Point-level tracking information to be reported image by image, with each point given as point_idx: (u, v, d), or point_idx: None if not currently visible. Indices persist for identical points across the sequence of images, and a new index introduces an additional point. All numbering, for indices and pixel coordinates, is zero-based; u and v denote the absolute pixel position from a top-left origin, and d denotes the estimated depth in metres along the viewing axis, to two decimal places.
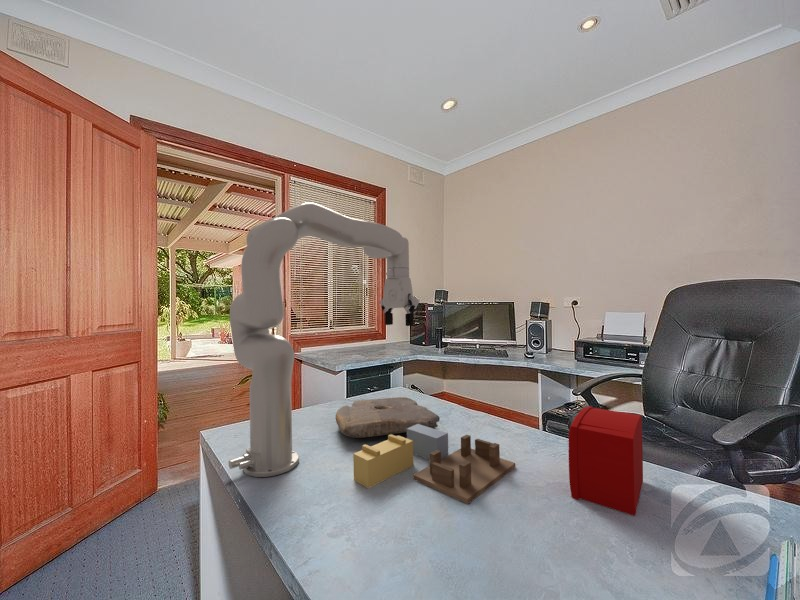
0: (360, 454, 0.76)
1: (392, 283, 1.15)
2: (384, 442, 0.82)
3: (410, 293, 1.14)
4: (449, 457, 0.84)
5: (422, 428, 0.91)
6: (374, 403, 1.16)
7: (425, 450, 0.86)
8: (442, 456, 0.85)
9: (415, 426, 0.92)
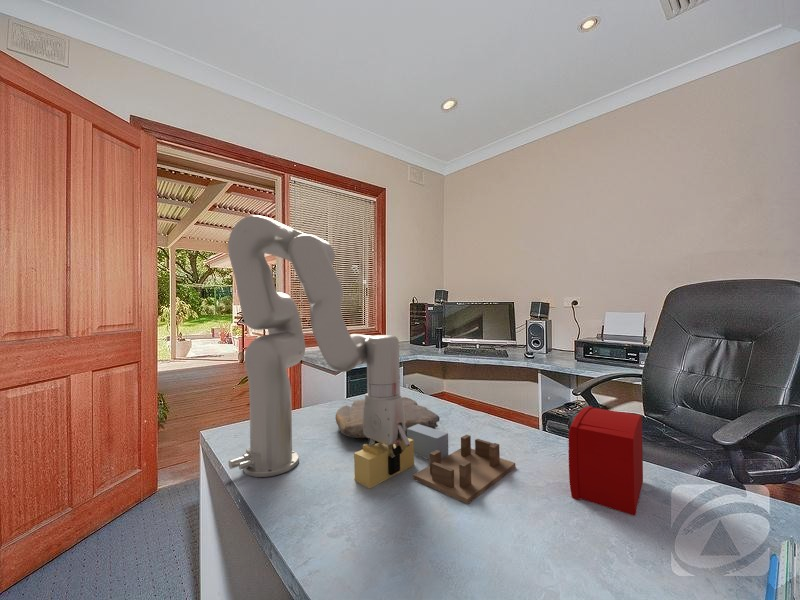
0: (361, 454, 0.76)
1: (374, 405, 0.78)
2: None
3: (401, 422, 0.77)
4: (449, 457, 0.84)
5: (422, 428, 0.91)
6: None
7: (425, 450, 0.86)
8: (442, 456, 0.85)
9: (415, 426, 0.92)
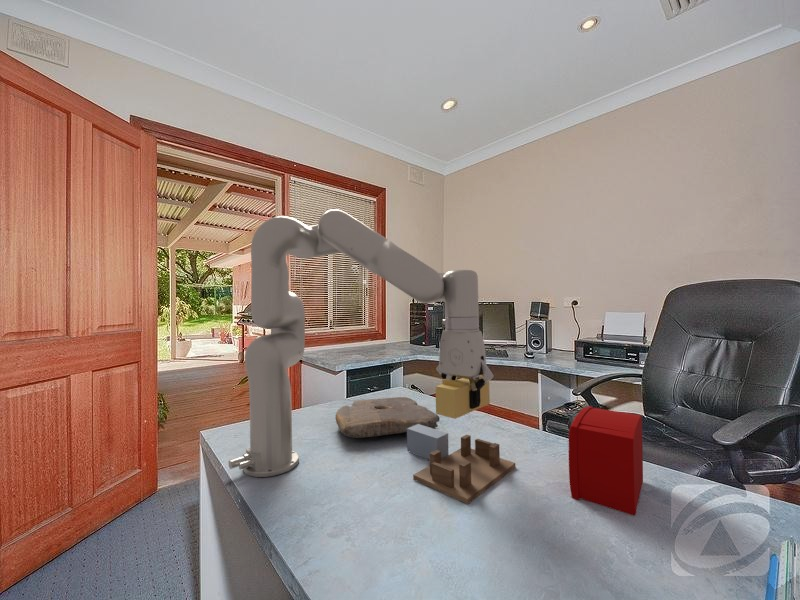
0: (443, 386, 0.75)
1: (455, 339, 0.77)
2: (460, 379, 0.81)
3: (483, 355, 0.76)
4: (449, 457, 0.84)
5: (422, 428, 0.91)
6: (374, 403, 1.16)
7: (425, 450, 0.86)
8: (442, 456, 0.85)
9: (415, 426, 0.92)
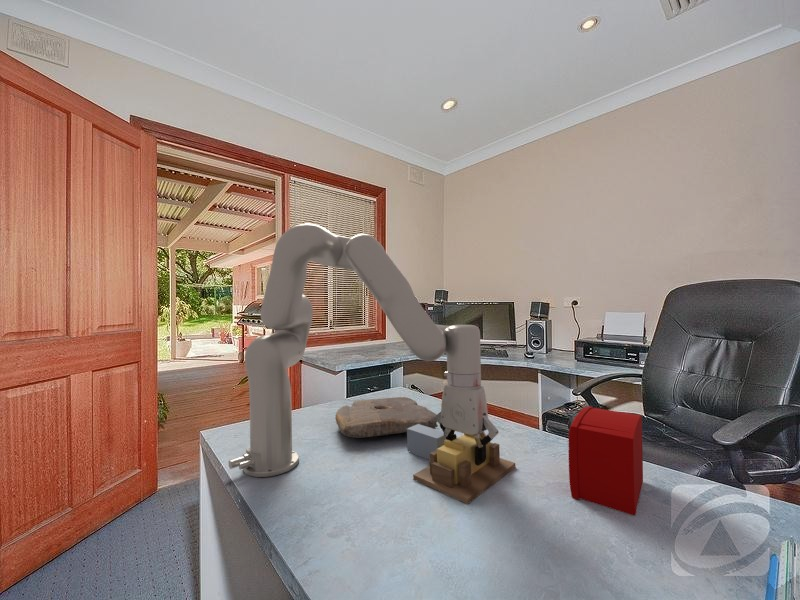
0: (444, 450, 0.74)
1: (457, 395, 0.77)
2: (462, 437, 0.81)
3: (485, 412, 0.75)
4: None
5: (422, 428, 0.91)
6: (374, 403, 1.16)
7: (425, 450, 0.86)
8: None
9: (415, 426, 0.92)
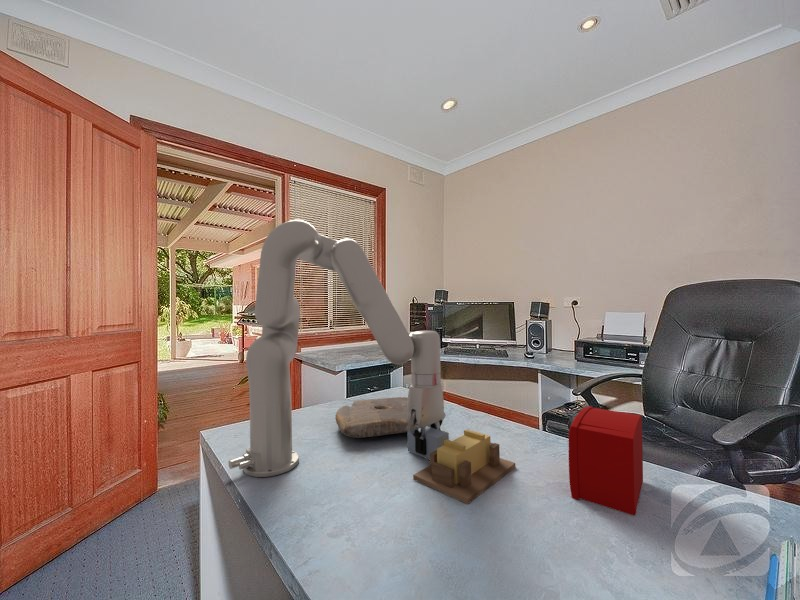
0: (444, 450, 0.74)
1: None
2: (462, 437, 0.81)
3: (415, 409, 0.85)
4: None
5: None
6: (374, 403, 1.16)
7: (426, 449, 0.86)
8: None
9: None
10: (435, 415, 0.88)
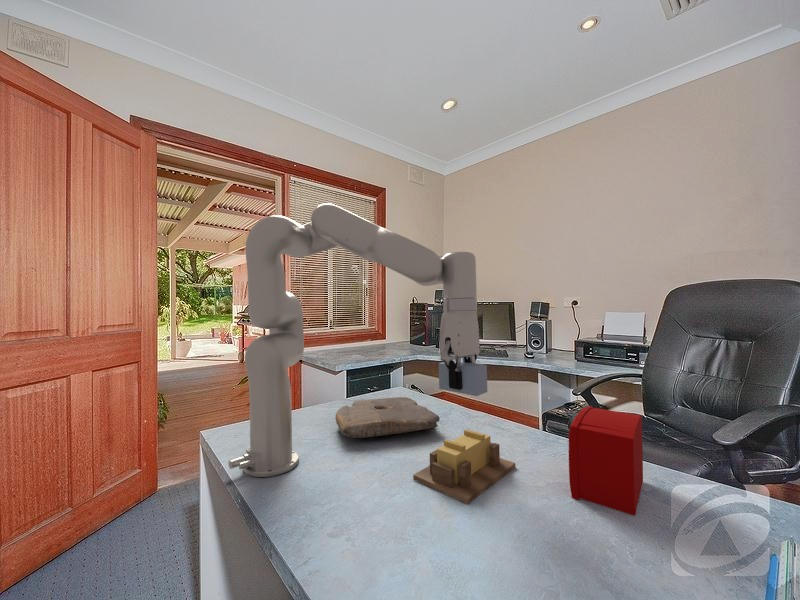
0: (444, 450, 0.74)
1: None
2: (462, 437, 0.81)
3: (450, 337, 0.75)
4: None
5: None
6: (374, 403, 1.16)
7: (462, 383, 0.77)
8: (481, 389, 0.76)
9: None
10: (471, 346, 0.78)
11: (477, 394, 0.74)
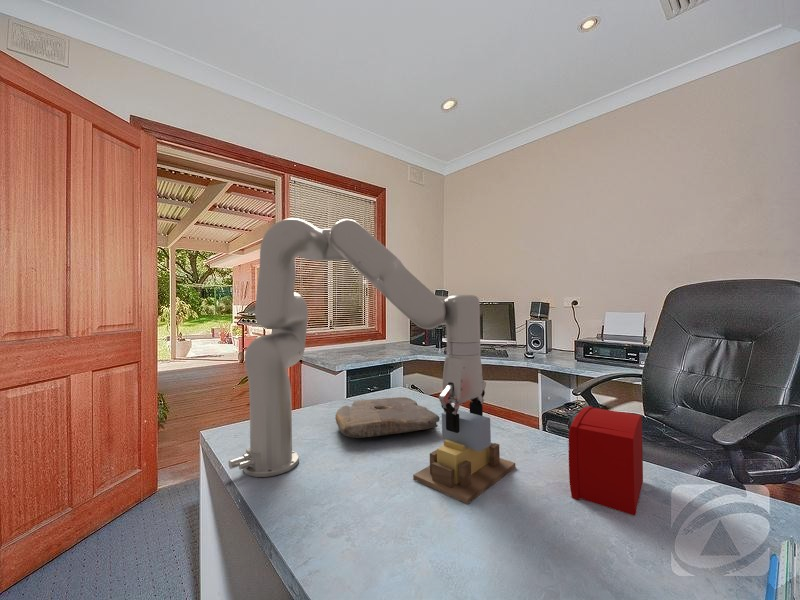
0: (444, 450, 0.74)
1: None
2: None
3: (453, 382, 0.75)
4: None
5: (459, 413, 0.80)
6: (374, 403, 1.16)
7: (465, 437, 0.76)
8: (484, 444, 0.75)
9: None
10: (474, 390, 0.78)
11: (480, 449, 0.74)
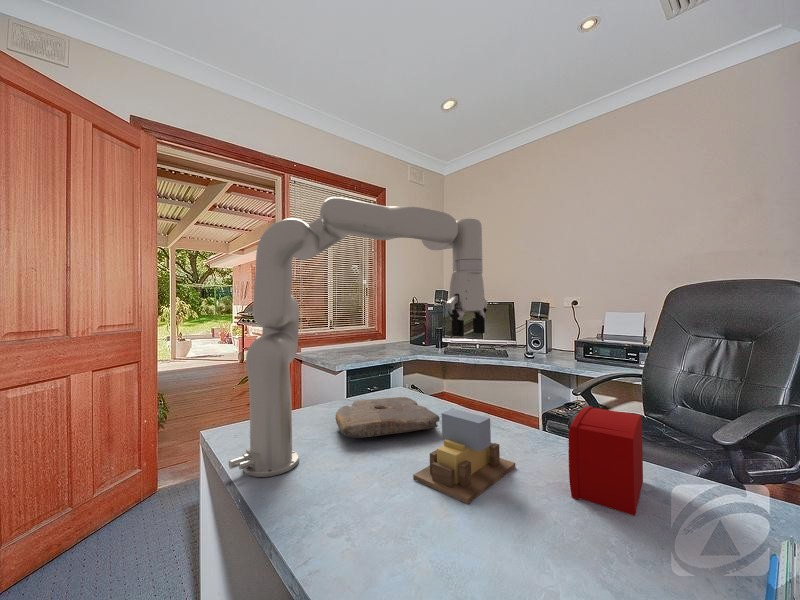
0: (444, 450, 0.74)
1: None
2: None
3: (458, 293, 0.85)
4: None
5: (459, 413, 0.80)
6: (374, 403, 1.16)
7: (465, 437, 0.76)
8: (484, 444, 0.75)
9: (451, 411, 0.82)
10: (477, 303, 0.88)
11: (480, 449, 0.74)
